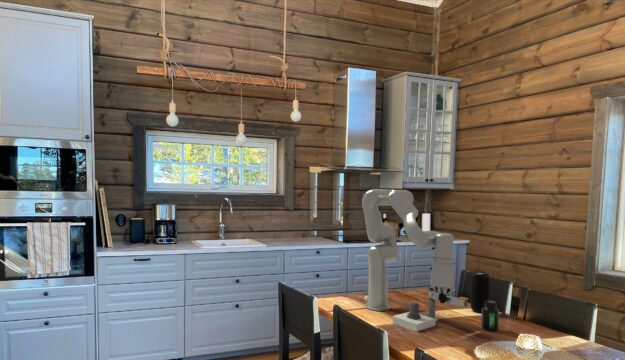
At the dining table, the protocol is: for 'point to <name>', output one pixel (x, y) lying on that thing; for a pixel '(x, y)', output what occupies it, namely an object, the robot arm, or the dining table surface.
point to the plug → (414, 311)
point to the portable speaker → (479, 290)
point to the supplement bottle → (490, 316)
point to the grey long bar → (449, 299)
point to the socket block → (419, 323)
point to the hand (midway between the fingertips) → (442, 302)
